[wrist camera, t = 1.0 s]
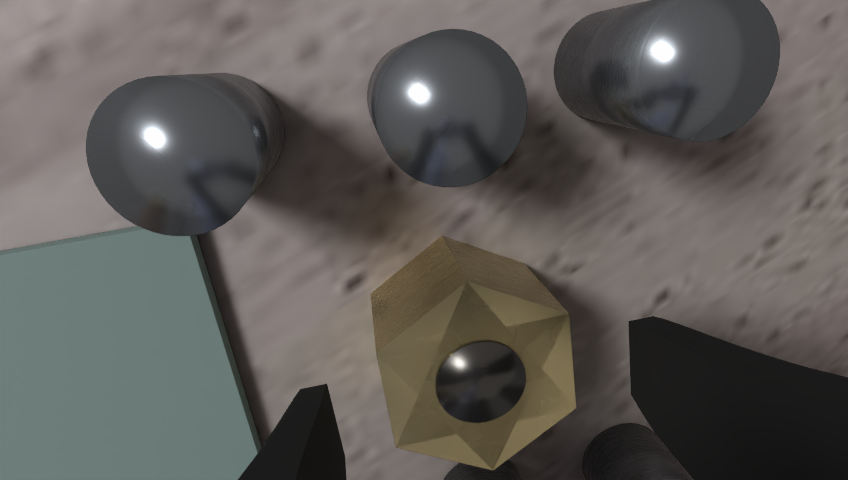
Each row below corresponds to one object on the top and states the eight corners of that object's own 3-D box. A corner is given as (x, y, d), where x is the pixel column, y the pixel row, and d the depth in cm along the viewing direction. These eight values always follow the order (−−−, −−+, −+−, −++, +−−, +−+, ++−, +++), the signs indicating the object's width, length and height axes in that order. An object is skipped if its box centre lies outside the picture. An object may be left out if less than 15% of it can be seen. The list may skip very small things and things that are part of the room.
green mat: (273, 485, 17) (271, 498, 17) (45, 536, 17) (36, 550, 16) (190, 216, 14) (185, 221, 14) (-90, 267, 14) (-105, 274, 13)
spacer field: (660, 481, 19) (749, 599, 15) (300, 564, 18) (286, 716, 14) (653, 2, 14) (784, -25, 10) (154, 83, 13) (60, 90, 9)
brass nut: (535, 377, 17) (580, 452, 14) (394, 407, 17) (405, 492, 14) (519, 220, 16) (566, 262, 12) (361, 250, 15) (365, 302, 12)
